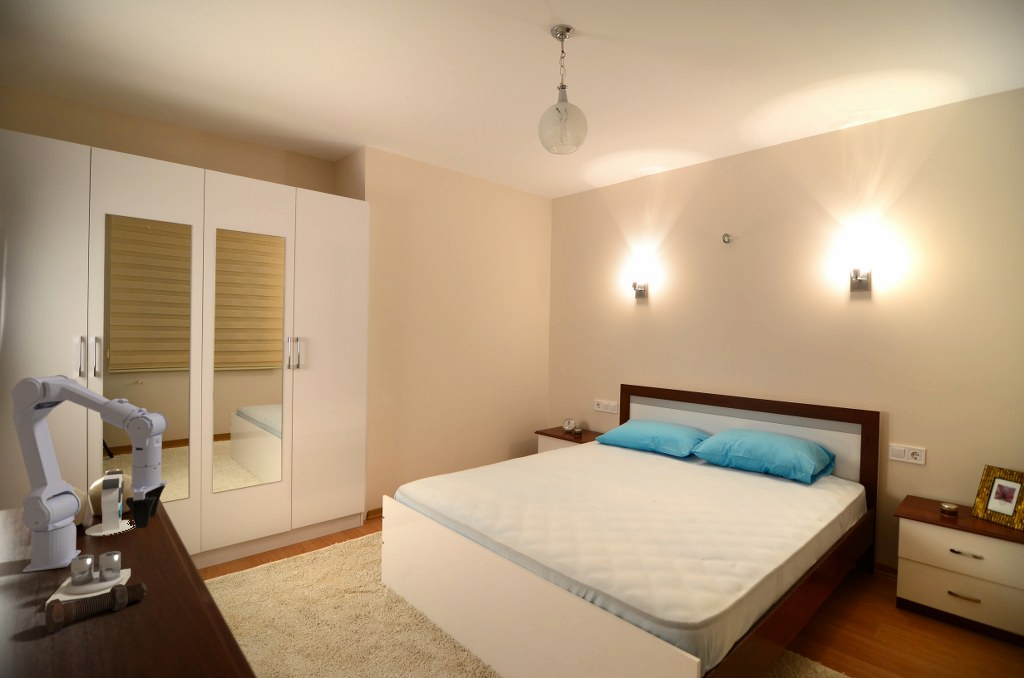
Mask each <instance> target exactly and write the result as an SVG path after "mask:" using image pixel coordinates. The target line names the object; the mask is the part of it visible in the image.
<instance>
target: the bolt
mask: <svg viewBox="0 0 1024 678" xmlns="http://www.w3.org/2000/svg"><path fill="white" fill-rule="evenodd" d="M147 591H148V588H147V585H146V584H145V583H144V582H140V583H139V582H138V583H136V584H132V585H128V586H126V584H125V585H123V584H118V585H115V586H113V587H112V588H111V590H110V592H106V593H104V594H103V593H102V594H100V595H96V596H93V597H89V598H85V599H82V600H78V601H74V602H68V603H65V604H63V603H62V602H61V601H60V600H59V599H55V600H51V601H50V602H49V603H48V605H47V607H46V606H45V609H46V611H45V619H44V620H45V626H46V630H47V632H48V633H51V634H55V633H58V632H60V631H62V629H63V625H64V624H67V623H69V622H72V621H74V620H77V619H82V618H83V617H86V616H87V617H88V616H90V615H94V614H97V613H100V612H103V611H107V610H111V611H112V612H118V611H121V610H124V609H125V608H126V607H127V605H128V604H130V603H134V602H136V601H140V600H143V599H144V598H146V597H147Z"/></svg>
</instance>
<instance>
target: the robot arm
mask: <svg viewBox="0 0 1024 678" xmlns="http://www.w3.org/2000/svg"><path fill="white" fill-rule="evenodd" d="M10 394H11V398H12V399H11V400H12V402H13V410H12V420H13V423H14V427H15V431H16V435H17V439H18V444H19V447H20V451H21V454H22V458H23V462H24V465H25V470H26V475H27V477H28V480H29V485H30V491H29V492H28V494H26V496H25V497H24V498H23V499H22V505H23V511H22V515H21V516H22V517H21V518H22V519H21V520H22V522H23V524H24V526H25V527H26V528H27V529H28V531H29V532H31V533H30V534H31V539H30V541H31V542H30V543H31V548H30V563H29V564H28V565H27V566H26V567H25V568H23V569H22V572H23V573H28V572H36V571H44V570H51V569H52V570H53V569H60V568H61V569H62V568H66V567H68V566H70V565H71V560H72V559H73V558H75V557H77V556H79V554H80V553H81V552H82V551H81V550H80V549H77V527H76V524H75V522H73V521H75V517H76V516H77V514H79V512H80V511H81V507H82V501H81V498H80V497H79V496H78V494H76V492H75V490H74V488H73V485H72V484H70V483H68V482H65V481H63V478H62V474H61V470H60V468H59V463H58V459H57V456H56V452H55V448H54V444H53V441H52V437H51V432H50V430H49V425H48V421H47V417H48V415H50V413H51V412H52V411H53V409H55V408H57V407H58V406H59V405H62V404H63V403H64V402H65V401H69V402H71V403H73V404H76V405H79V406H80V407H84V408H86V409H88V410H90V411H91V410H92V411H94V412H97V413H99V415H100V419H101V421H103V422H106V423H108V424H110V425H113V426H114V427H117V428H119V429H121V430H123V431H125V432H126V434H127V436H128V437H129V438H130V445H131V446H132V448H131V449H132V451H131V457H132V458H131V484H130V490H131V491H132V493H133V494H132V497H131V496H130V497H127V498H126V499H125V505H127V507H128V509H129V511H130V512H131V515H132V519H133V521H134V523H135V527H134V528H136V529H144V528H148V526H149V522H150V519H151V518H154V517H155V516H156V514H157V511H158V506H159V503H160V498H161V495H162V493H163V491H164V489H165V488H166V485H167V484H168V481H167V480H162V452H163V451H162V446H163V445H162V444H163V442H162V441H163V434H164V433H165V432H166V430H167V428H168V420H167V418H166V416H165V415H164V414H162V413H161V412H159V411H150V412H149V411H147V410H148V409H147V408H145V407H141V408H140V407H138V406H136V405H133V404H131V403H129V400H128V399H127V398H125V397H124V398H114V399H108V398H106V397H105V396H103V395H101V394H99V393H97V392H96V391H93V390H91V389H90V388H88V387H86V386H84V385H82V384H80V383H79V382H78V381H77V379H74V378H70V377H69V376H68V375H67V376H66V375H65V374H64V375H62V374H56V375H51V376H39V377H25V378H22V379H20V380H19V381H18V382H17V383H16V384H15V386H13V388H12V389H11V390H10Z"/></svg>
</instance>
